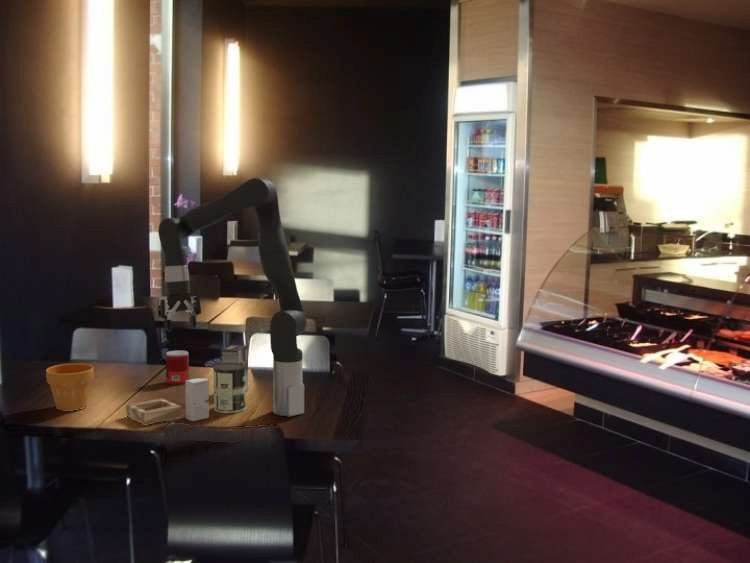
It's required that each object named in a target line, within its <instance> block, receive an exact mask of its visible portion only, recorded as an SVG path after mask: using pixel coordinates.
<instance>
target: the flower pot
mask: <svg viewBox="0 0 750 563" xmlns="http://www.w3.org/2000/svg"><path fill="white" fill-rule="evenodd" d="M94 369H95V368H94V365H91V364H87V363H79V362H78V363H61V364H56V365H53V366H50V367H48V368H46V370H45V375H46V383H47V384H49V386H50V390H51V393H52V397H53V400H54V404H55V407H56V410H57V409H61V410H75V409H80V408H83V407H85V406H86V407H87V404H88V398H89V395H90V394H89V392H90V387H91V382H92V381H93V380H94V377H95V375H94V374H95V370H94ZM86 407H85V408H86Z"/></svg>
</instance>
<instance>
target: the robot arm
mask: <svg viewBox="0 0 750 563" xmlns="http://www.w3.org/2000/svg"><path fill="white" fill-rule="evenodd" d="M250 208H254V209H255V213H256V217H257V220H258V228H259V230H258V231H259V232H258V233H259V234H258V254H259V255H258V256H259V260H260V265H261V268H262V271H263V274H264V276H265V277H266V279H267V280H268V282H269V284H270V285H271V287H272V288H273V289H274V292H275V294H276V296H277V300H278V304H279V311H277V312H275V313H274V314H273V315H272V317H271V319H270V323H269V336H270V337H269V339H270V351H271V352H272V355H273V357H272V360H273V364H272V365H273V366H272V371H273V372H272V377H273V378H272V382H273V384H272V386H273V387H272V388H273V389H272V395H273V397H272V401H273V402H272V404H273V407H272V409H273V414H275V415H277V416H281V417H282V416H283V417H284V416H285V417H287V418H288V417H294V416H297V415H302V414H304V413H305V383H303V364H304V363H303V359H304V358H303V354H304V353H303V350H302V349H300V348H298V344H297V343H298V339H297V336H300V335H302V334H304V332H305V330H306V328H307V324H308V323H307V317H306V313H305V310H304V307H303V304H302V300H301V298H300V297H301V296H300V295H299V291H298V287H297V283H296V279H295V274H294V271H293V270H294V269H293V266H292V260H291V257H290V256H291V255H290V251H289V247H288V244H287V243H288V242H287V240H286V235H285V232H284V227H283V224H282V221H281V214H280V206H279V198H278V191H277V188H276V185H275V183H274V182H272V181H271V180H270V179H267V178H263V177H262V178H261V177H253V178H249V179H248V180H247V181H245V182H244V183H242V184H241V185H239V186H237V187H236V188H235V189H232V190H231V191H229V192H228V193H226V194H224V195H222V196H219V197H217V198H215V199H213V200H210V201H208V202H206V203H203V204H201V205H198V206H195V207H194V208H192V209H189V210H188V211H186V212H185V214H184V215H181V216H178V217H166V218H164V219H162V220H161V221H160V223H159V225H158V232H157V233H158V238H159V242H160V245H161V248H162V249H161V250H162V251H163V256H164V258H163V259H164V280H165V281H164V282H165V293H166V299H158V300H157V317H158V319H162V320H163V322H164V330H166V332H168V333H169V332H172V331H173V329H172V320H171V318H172V316H173V315H174V314H175V313H176V312H185V313H187V314H188V315H189V317H188V318H189V319H188V320H189V329H195V328H196V327H197V318H196V317H197V316H198V315H201V313H202V309H201V301H200V297H199V295H193V296H191V286H190V285H191V284H190V272H189V269H188V258H187V257H188V256H187V251H186V249H185V248H184V247H182V243H181V240H183V239H185V238H187V237H190V236H191V235H192V234H194V233H196V232H197V231H200V230H202V229H205V228H208V227H209V226H212V225H214V224H216V223H219V222H220V221H222V220H223V219H225V218H226V217H227V216H229V215H232V214H233V213H236V212H239V211H242V210H246V209H250ZM191 303H192V305H190V304H191ZM166 306H168V307H167V309H166ZM192 306H193V307H192Z"/></svg>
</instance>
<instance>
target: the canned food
mask: <svg viewBox="0 0 750 563" xmlns="http://www.w3.org/2000/svg"><path fill="white" fill-rule="evenodd" d="M189 359H190V357H189V352H188V351H187V350H179V349H178V350H170V351H167V352H166V353H165V376H166V379H165V380H166V383H167V384H168V385H171V386H174V385H175V386H179V385H180V386H182V385H186V380H190V369H189V368H190V366H189V363H190V362H189V361H190V360H189Z"/></svg>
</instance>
